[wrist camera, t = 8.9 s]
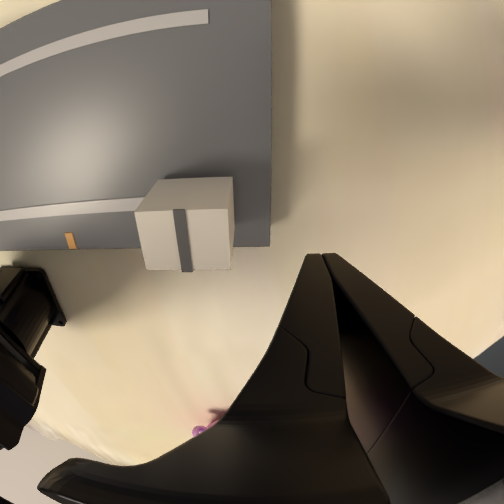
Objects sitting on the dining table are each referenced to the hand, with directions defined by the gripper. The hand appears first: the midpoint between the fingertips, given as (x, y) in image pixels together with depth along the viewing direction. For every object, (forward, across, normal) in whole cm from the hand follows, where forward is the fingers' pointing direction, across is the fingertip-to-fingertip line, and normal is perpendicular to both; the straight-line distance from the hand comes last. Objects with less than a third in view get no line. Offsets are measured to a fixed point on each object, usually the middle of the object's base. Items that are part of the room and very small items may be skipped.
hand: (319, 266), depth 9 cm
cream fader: (+8, +5, +2) cm, 10 cm away
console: (+11, +15, -4) cm, 19 cm away
